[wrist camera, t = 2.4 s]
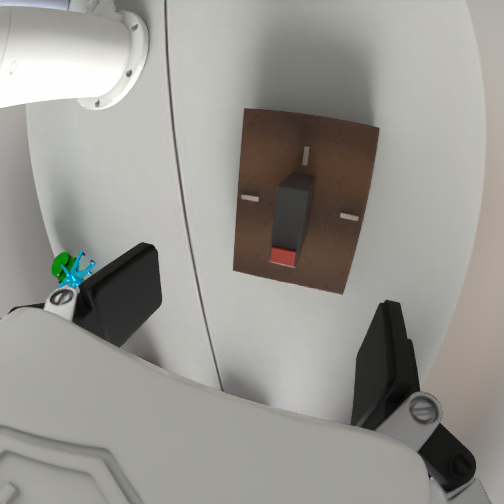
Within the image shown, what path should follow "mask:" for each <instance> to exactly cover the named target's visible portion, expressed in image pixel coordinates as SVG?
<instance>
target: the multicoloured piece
mask: <svg viewBox="0 0 504 504" xmlns="http://www.w3.org/2000/svg"><path fill="white" fill-rule="evenodd" d="M82 255H83V256H85V253H83V252H82V251H80V253H79V255H78V257H77V258H76V257H75V258H74V257H72V256H70V255H69V254H68V253H67V252H62V253H60V254H59V255H58V256H57V257H56V258H55V260H54V262H53V265H52V274H53V275H54V276H55V277H57V278H58V280H59V283H60V285H59V286H58V287H57V289H58V288H60V287H63V286H64V285H68V287H72V288H74V289H75V290H76V287H77V286H78V287H79V284H81V283H82V282H84V281H85V280H84V279H82V278H83V277H84V276H85V275H86V274H87V273H88V274H90V275H92V273H91V272H90V270H91V268H92V267H93V266H94V265H95V264H96V263H95V262H94V261H93V260H90V262H91V263H92V264H91V265H89V266H88V267H87V268H86V269H85V270H83V271H79V261H80V258H81V256H82ZM75 270H76V271H75ZM72 285H73V286H72Z"/></svg>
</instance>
